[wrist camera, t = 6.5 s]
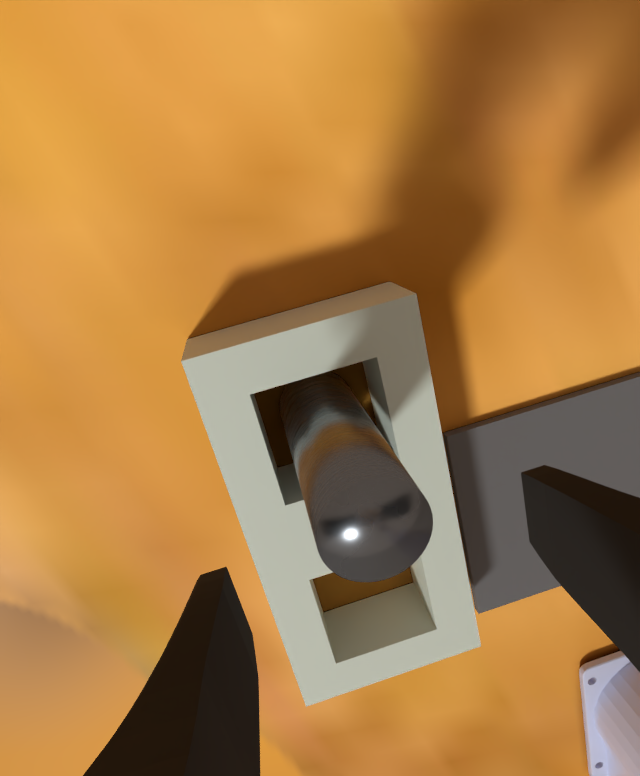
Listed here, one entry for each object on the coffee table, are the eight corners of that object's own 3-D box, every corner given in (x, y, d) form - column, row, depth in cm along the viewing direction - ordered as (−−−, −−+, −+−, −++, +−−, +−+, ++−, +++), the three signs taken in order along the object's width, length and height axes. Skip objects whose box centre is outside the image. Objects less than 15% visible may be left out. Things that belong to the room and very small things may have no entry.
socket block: (453, 598, 26) (481, 645, 23) (297, 651, 25) (306, 706, 23) (389, 281, 20) (416, 293, 18) (187, 339, 20) (181, 361, 17)
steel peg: (361, 422, 22) (445, 555, 14) (294, 449, 22) (338, 598, 14) (339, 358, 21) (415, 459, 13) (268, 385, 21) (298, 506, 13)
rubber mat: (656, 546, 27) (662, 550, 27) (475, 608, 27) (478, 613, 26) (653, 367, 24) (659, 370, 23) (443, 433, 23) (446, 436, 23)
